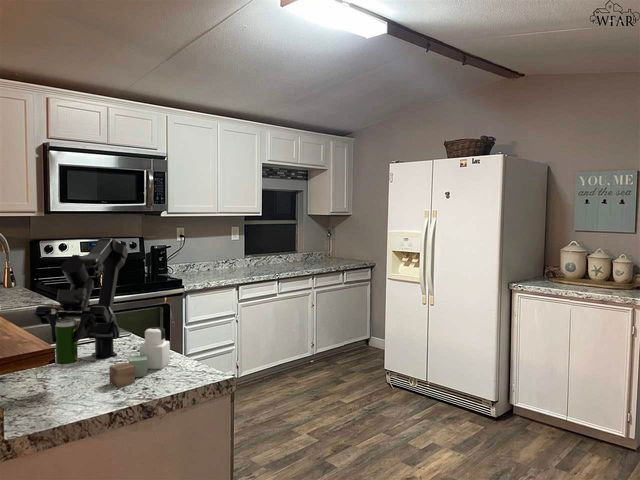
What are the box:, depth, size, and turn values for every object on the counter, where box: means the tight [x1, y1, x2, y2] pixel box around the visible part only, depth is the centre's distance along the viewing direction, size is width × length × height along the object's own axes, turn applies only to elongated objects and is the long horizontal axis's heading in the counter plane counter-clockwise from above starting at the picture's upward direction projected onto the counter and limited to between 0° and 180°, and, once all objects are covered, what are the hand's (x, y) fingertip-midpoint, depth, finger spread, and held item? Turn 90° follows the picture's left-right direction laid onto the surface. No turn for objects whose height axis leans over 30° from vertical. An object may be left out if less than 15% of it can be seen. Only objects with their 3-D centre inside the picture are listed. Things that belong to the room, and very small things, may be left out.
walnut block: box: [109, 361, 136, 388], centre depth 142 cm, size 5×5×5 cm
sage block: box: [128, 354, 148, 378], centre depth 150 cm, size 5×5×5 cm
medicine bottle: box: [139, 326, 171, 370], centre depth 158 cm, size 7×7×12 cm
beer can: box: [55, 318, 79, 368], centre depth 137 cm, size 5×5×12 cm
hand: (64, 341), depth 136 cm, fingers closed on beer can, 5 cm apart
